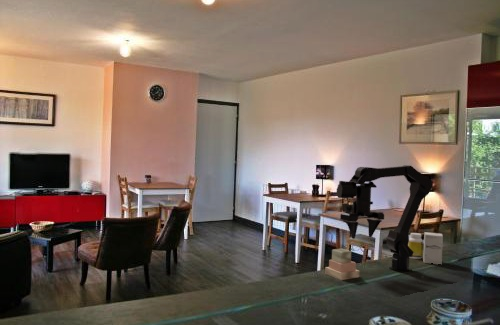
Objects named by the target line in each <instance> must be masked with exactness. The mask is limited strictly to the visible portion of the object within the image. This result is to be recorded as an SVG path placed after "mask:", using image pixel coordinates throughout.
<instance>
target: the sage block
mask: <svg viewBox="0 0 500 325" xmlns="http://www.w3.org/2000/svg"><path fill="white" fill-rule="evenodd" d="M331 260H333V261H336V262H338V263H347V262H351V261H352V251H351V250H348V249H345V248H335V249H331Z"/></svg>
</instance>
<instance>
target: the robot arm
mask: <svg viewBox="0 0 500 325" xmlns="http://www.w3.org/2000/svg"><path fill="white" fill-rule="evenodd" d="M402 176H404V178H405V179H406V181H407V182H408V183H409V184H410V186H409V198H407V199H408V200H407V202H406V204H405V206H404V209H403V212H402V214H401V216H400V218H399V222H398V223H397V226H396V228H395V229H394V230H393V229H390V230H389V231H388V235H387V237H385V239H386V245H387V247H388V248H389V251H390V253H392V258H391V266H389V267H388V269H389V270H392V271H396V272H400V273H405V272H410V271H413V269H412V268H410V258H409V257H412V255H413V251H412V250H411V249H410V248H409V246H408V243H409V238H410V234H409V233H410V230H411V227H412V225H413V223H414V221H415V218H416V216H417V213H418V211H419V208H420V207H421V203H422V201H423V200H424V199H425V198H426V197H427V196H428V195H429V193H430V192H431V191H432V188H433V185H434V183H433V181H432V179H431V178H429V177H427V176H425V175H424V174H423V173H421V172H420V171H418V170H417V169H416V168H414V167H413V166H412V165H405V164H404V165H400V166H399V165H398V166H389V167H379V168H378V167H369V166H368V167H367V166H366V167H365V166H359V167H357V168H356V169H355V171H354V174H353V176H352V177H351V178H350V179H349V181H345V180H339V182H338V184H337V188H336V196H337V198H338V199H354V198H355V200H353V202H352V204H349V203H342V204H341V205H342V207H341V211H342V212H341V213H340V220H341V221H342V222H344V223H346V225H347V227H348V230H349V233H350V236H351V239H353V240H354V239H356V235H357V230H358V226H359V221H358V220H359V219H366V221H367V224H368V237H369V238H372V237H373V235H374V233H375V232H376V230H377V228H378V227H379V225H380V223H381V222H382V221H383V220H385V214H384V212H381V211H376V210H371V205H373V204H374V201H372V198H371V197H372V188H377V185H376V184H375V183H374V182H373V181H376V180H378V179H382V178H392V177H402Z"/></svg>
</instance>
